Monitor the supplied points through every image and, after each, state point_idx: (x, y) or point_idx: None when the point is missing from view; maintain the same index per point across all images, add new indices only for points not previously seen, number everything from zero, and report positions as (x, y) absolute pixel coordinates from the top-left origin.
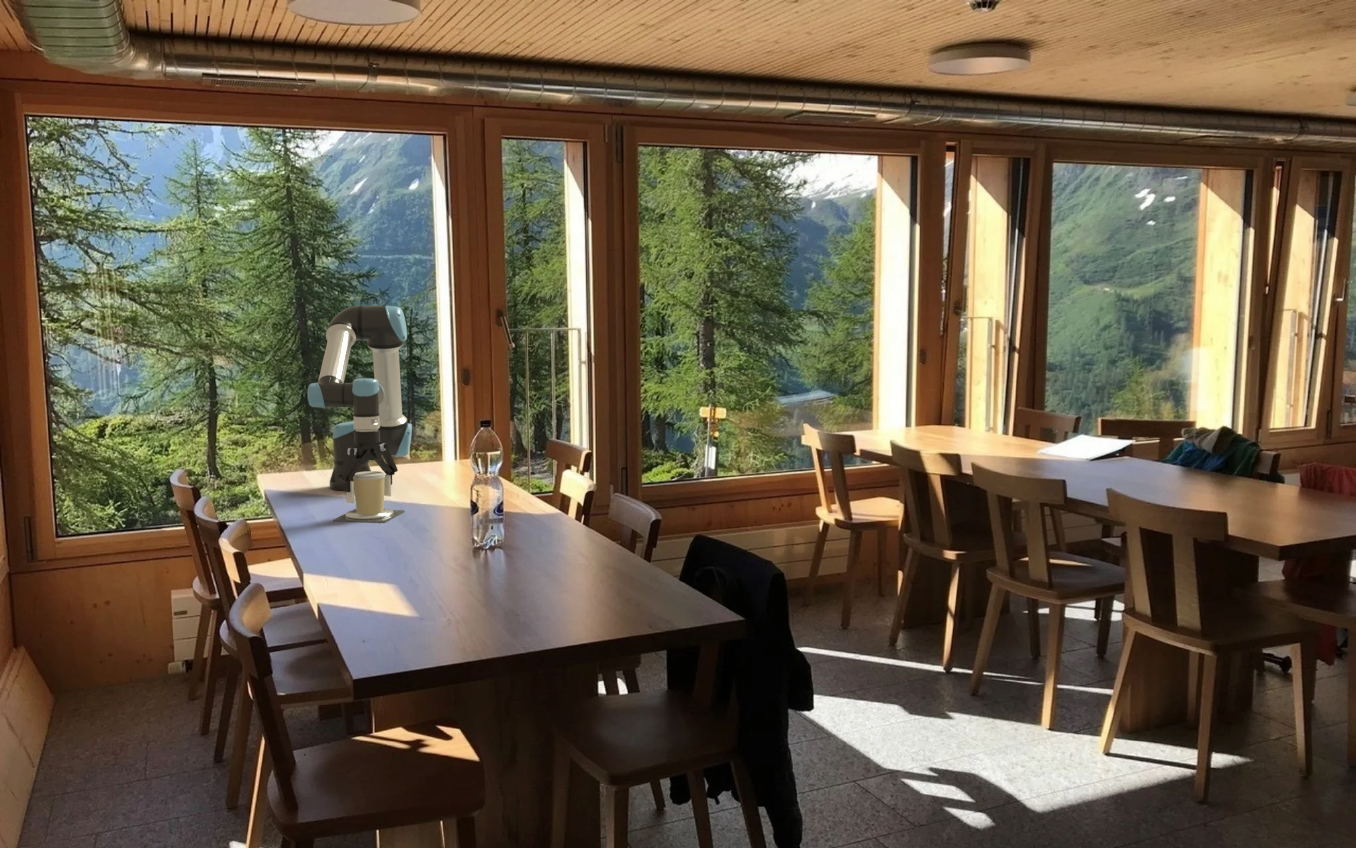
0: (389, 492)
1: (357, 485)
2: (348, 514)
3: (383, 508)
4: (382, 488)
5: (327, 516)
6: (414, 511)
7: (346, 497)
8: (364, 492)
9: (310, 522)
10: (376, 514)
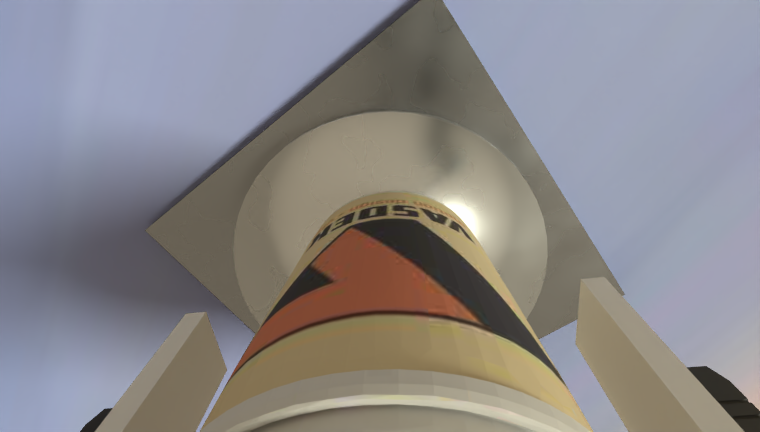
0: (595, 370)
1: None
2: (253, 228)
3: (541, 218)
4: None
5: (168, 41)
6: (666, 311)
7: (164, 342)
8: None
9: (13, 151)
10: None
